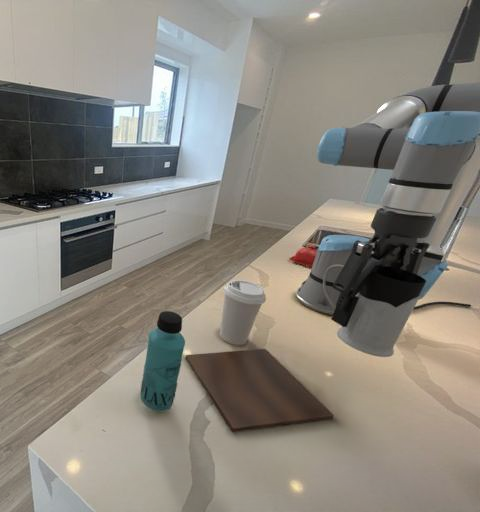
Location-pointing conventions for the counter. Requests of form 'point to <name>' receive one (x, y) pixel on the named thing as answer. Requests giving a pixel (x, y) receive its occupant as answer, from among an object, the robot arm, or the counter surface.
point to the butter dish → (305, 256)
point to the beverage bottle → (163, 362)
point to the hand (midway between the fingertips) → (357, 321)
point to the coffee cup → (240, 310)
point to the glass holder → (380, 311)
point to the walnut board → (255, 390)
